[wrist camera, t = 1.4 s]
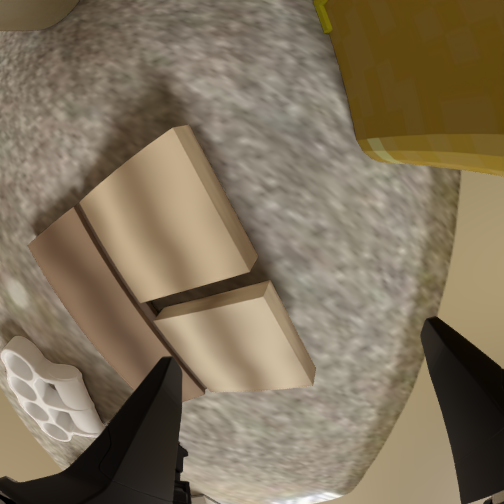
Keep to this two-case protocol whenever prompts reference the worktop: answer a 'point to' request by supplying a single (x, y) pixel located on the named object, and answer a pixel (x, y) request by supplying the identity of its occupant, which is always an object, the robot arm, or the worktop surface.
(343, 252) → the worktop surface
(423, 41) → the book
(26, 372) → the white honeycomb tray
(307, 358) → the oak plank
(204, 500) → the skyscraper
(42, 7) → the plant pot
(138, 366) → the walnut board
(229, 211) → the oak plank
